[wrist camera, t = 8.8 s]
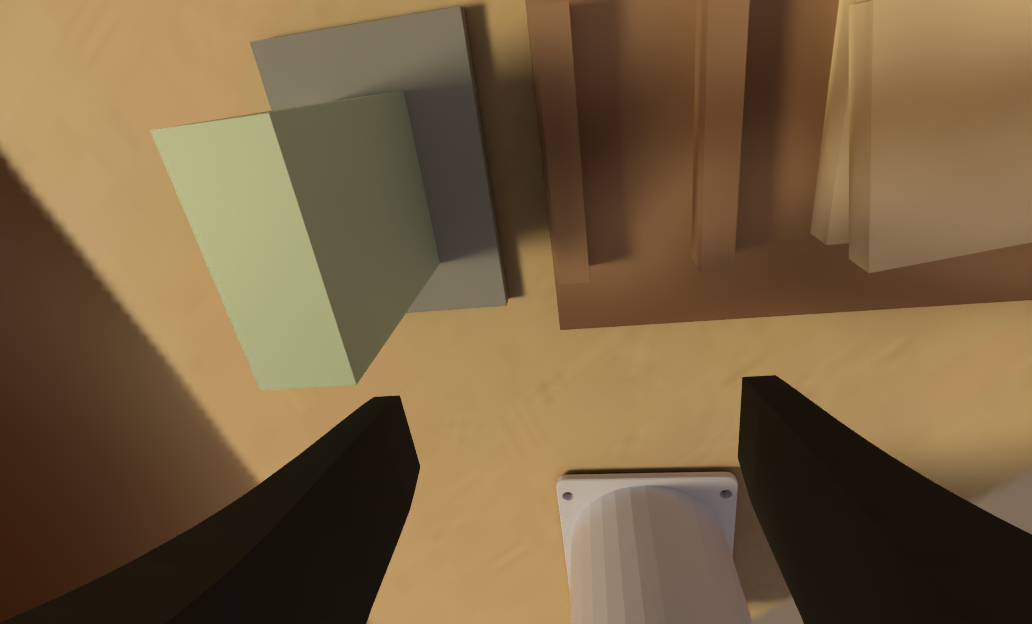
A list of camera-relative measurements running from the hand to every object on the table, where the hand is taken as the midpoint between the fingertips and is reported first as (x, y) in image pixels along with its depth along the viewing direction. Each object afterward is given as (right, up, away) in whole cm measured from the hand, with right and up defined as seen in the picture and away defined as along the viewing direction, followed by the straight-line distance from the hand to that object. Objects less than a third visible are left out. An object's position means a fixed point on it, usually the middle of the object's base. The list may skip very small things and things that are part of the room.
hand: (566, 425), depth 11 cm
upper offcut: (+11, +8, +3) cm, 13 cm away
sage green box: (-6, +7, +7) cm, 11 cm away
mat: (-5, +7, +8) cm, 12 cm away
